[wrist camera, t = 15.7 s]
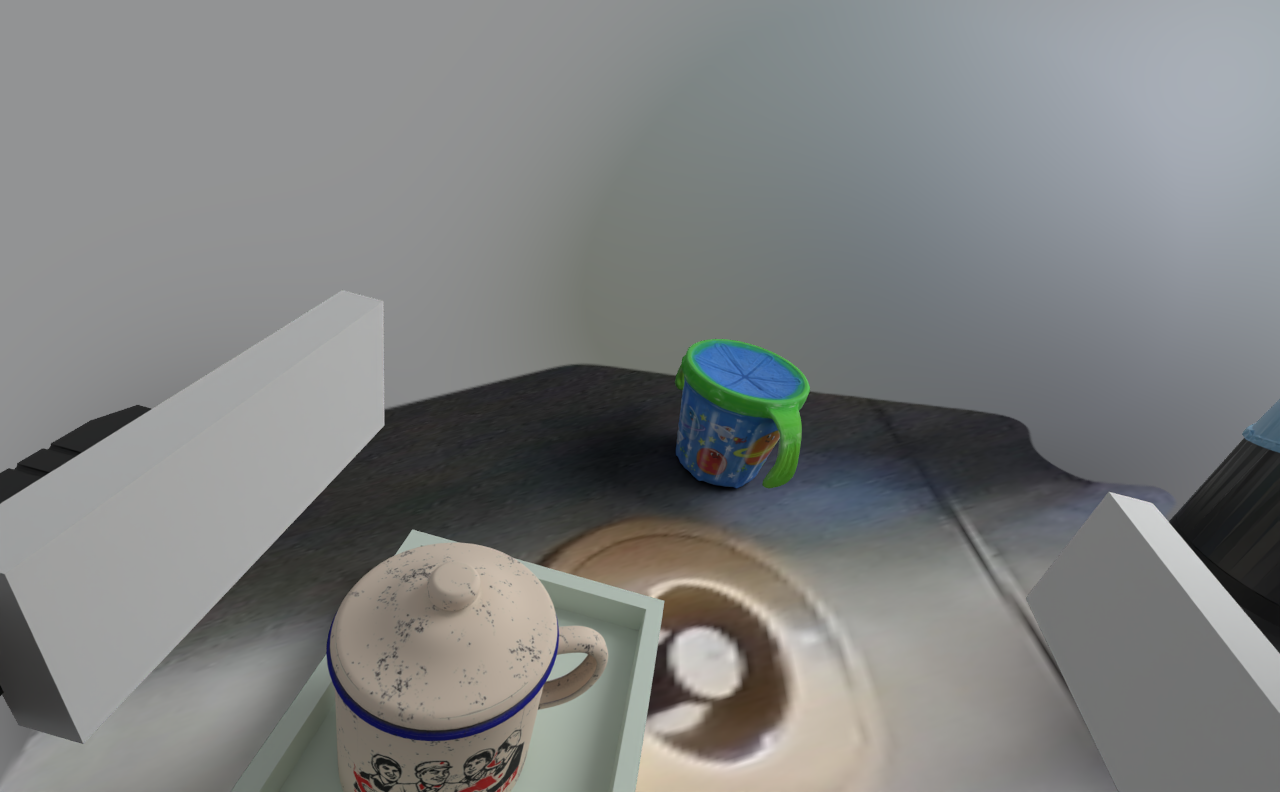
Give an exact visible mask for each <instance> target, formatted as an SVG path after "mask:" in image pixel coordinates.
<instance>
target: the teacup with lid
mask: <svg viewBox="0 0 1280 792" xmlns="http://www.w3.org/2000/svg"><path fill="white" fill-rule="evenodd" d="M566 653H586V654H588V655H587V657H586V658H585V659H584V660H583V662H582V663H581V664H580V665H579V666H577V667H576V668H575V669H574V670H572V671H571V672H569V673H568V674H566V675H564V676H562V677H559V678H556V679H553V680H550V681H546V680H547V679H548V677H549V675H550V673H551V671H552V668H553V666H554V663H555V660H556V656H557V655H559V654H566ZM326 654H327V665H328V670H329V674H330V677H331V680H332V683H333V685H334V687H335V704H336V730H337V756H338V772H339V778H340V783H341V786H342V789H343V792H511V790H512V789H513V787H514V786H515V784H516V782H517V780H518V778H519V776H520V774H521V772H522V769H523V767H524V764H525V760H526V757H527V753H528V748H529V744H530V740H531V736H532V732H533V727H534V723H535V719H536V715H537V711H538V710H540V709H545V708H550V707H554V706H557V705H561V704H564V703H566V702H569V701H571V700H573V699H575V698H577V697H578V696H580V695H581V694H583V693H584V692H586V691H587V690H588V689H589V688H590V687H592V686H593V685H594V684H595V683H596V681H597V680H598V679H599V678H600V676H601V675H602V673H603V672H604V670H605V668H606V665H607V662H608V650H607V646H606V643H605V640H604V638H603V637H602V635H601V634H600V633H598V632H597V631H595V630H593V629H591V628H588V627H584V626H563V627H559V626H558V620H557V616H556V612H555V609H554V605H553V603H552V600H551V598H550V596H549V594H548V592H547V590H546V589H545V587H544V586H543V584H542V583H541V582H540V580H539V579H538V578H537V577H536V576H535V575H534V574H533V573H532V572H531V571H530V570H529V569H528V568H527V567H526V566H524V565H523V564H522V563H520V562H519V561H517V560H516V559H514V558H512V557H511V556H509V555H507V554H504V553H502V552H500V551H497V550H494V549H492V548H488V547H485V546H480V545H475V544H468V543H438V544H431V545H425V546H421V547H417V548H414V549H410V550H407V551H405V552H402V553H400V554H397V555H395V556H393V557H391V558H389V559H387V560H385V561H384V562H382V563H380V564H379V565H377V566H376V567H375V568H373V569H372V570H371V571H369V572H368V573H367V574H366V575H365V576H363V577H362V578H361V579H360V580H359V581H358V582H357V583H356V584H355V585H354V587H353V588H352V589H351V590H350V591H349V593H348V594H347V595H346V597H345V598H344V600H343V602H342V603H341V605H340V607H339V609H338V611H337V612H336V614H335V617H334V619H333V621H332V624H331V627H330V630H329V634H328V640H327V652H326Z"/></svg>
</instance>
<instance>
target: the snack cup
mask: <svg viewBox="0 0 1280 792" xmlns="http://www.w3.org/2000/svg"><path fill="white" fill-rule="evenodd" d="M675 383H676V386H677V388H678V389H680V390H683V396H682V402H681V412H680V420H679V426H678V435H677V445H676V456H678V458H679V460H680V463H681V464H682V465H683V466H684V468H685V469H687V470H688V471H689V472H690V473H691V474H692V475H693V476H694V477H695V478H696V479H697V480H698V481H705V482H707V483H710V484H714V485H719V486H725V487H734V488H739V487H741V486H743V485H744V484H746V483H748V482H749V481H751V480H752V479H753V478H754V477H755V476H756V475H757V474H758V472H759V470H760V468H761V467H762V465H763V464H764V462H765V461H766V459H767V457H768V456H769V454H770V453H771V451H772V449H773V447H774V446H775V444H776V443H777V441H778V440H779V438H780V441H779V449H778V455H777V460H776V463H775V465H774V466H773V468H772V469H771V470H770V471H769V473H768V474H767V476H766V477H765V479H764V480H763V486H764V487H766V488H773V487H778V486H781V485H783V484H785V483H787V482H788V481H789V480H790V479H791V478H792V477H793V475H794V473H795V471H796V467H797V463H798V457H799V451H800V443H801V432H802V430H801V418H800V414H799V410H800V409H801V408H802V406H803V404H804V402H805V401H806V399H807V396H808V394H809V391H810V387H809V384H808V381H807V379H806V377H805V376H804V375H803V373H802V372H801V371H800V370H799V369H798V368H797V367H796V366H794V365H793V364H792V363H790V362H789V361H788V360H786V359H784V358H782V357H780V356H779V355H777V354H775V353H773V352H771V351H768V350H766V349H764V348H761V347H758V346H755V345H751V344H748V343H744V342H740V341H734V340H725V339H712V340H704V341H700V342H697V343H695V344H693V345H692V346H691V347H689V349H688V351H687V353H686V355H685V356H684V357H683V359H682V364H681V366H680V368H679V370H678V373H677V375H676V381H675Z"/></svg>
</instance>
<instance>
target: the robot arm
mask: <svg viewBox="0 0 1280 792" xmlns="http://www.w3.org/2000/svg"><path fill="white" fill-rule="evenodd" d="M383 320H384V319H383V301H382V300H378V299H374V298H370V297H367V296H363V295H359V294H355V293H351V292H348V291H344V290H342V291H340V292H339V293H337V294H336V295H334V296H332V297H331V298H329V299H328V300H326V301H324V302H323V303H321V304H320V305H318V306H316V307H315V308H313V309H312V310H310V311H308V312H307V313H305V314H304V315H302V316H300V317H299V318H297V319H296V320H294V321H292V322H291V323H289V324H288V325H286V326H284V327H283V328H281V329H280V330H278V331H276V332H275V333H273V334H271V335H270V336H268V337H267V338H265V339H263V340H262V341H260V342H259V343H257V344H256V345H254V346H252V347H251V348H249V349H247V350H246V351H244V352H243V353H241V354H239V355H238V356H236V357H235V358H233V359H231V360H230V361H228V362H227V363H225V364H224V365H222V366H220V367H219V368H217V369H216V370H214V371H212V372H211V373H209V374H207V375H206V376H204V377H203V378H201V379H199V380H198V381H196V382H195V383H193V384H191V385H190V386H188V387H187V388H185V389H184V390H182V391H180V392H179V393H177V394H175V395H174V396H172V397H171V398H169V399H167V400H166V401H164V402H163V403H161V404H159V405H158V406H156V407H155V408H153V409H151V408H147V407H143V406H140V405H136V406H133V407H130V408H127V409H124V410H121V411H118V412H115V413H112V414H109V415H106V416H103V417H100V418H97V419H94V420H91V421H89V422H87V423H85V424H84V425H82V426H80V427H79V428H77V429H75V430H74V431H72V432H70V433H68V434H67V435H65V436H63V437H62V438H60V439H58V440H56V441H55V442H53V443H51V446H50V448H49V449H41V450H39V451H38V452H36V453H34V454H32V455H31V456H29V457H28V458H26V459H24V460H22V461H20V462H19V463H17V467H16V468H15V469H7V470H5V471H3V472H2V473H0V696H1V695H3V697H4V699H5V701H6V703H7V705H8V706H9V708H10V710H11V712H12V714H13V715H14V717H15V719H16V721H17V723H18V725H20V726H23V727H26V728H30V729H33V730H37V731H40V732H44V733H47V734H51V735H54V736H58V737H61V738H65V739H68V740H72V741H75V742H78V743H82V744H84V743H85V742H86V741H87V740H88V739H89V738H90V736H91V735H92V734H93V733H94V732H95V731H96V730H97V729H98V728H99V727H100V726H101V725H102V724H103V723H104V722H105V721H106V720H107V718H108V717H109V716H110V715H111V714H112V713H113V712H114V711H115V710H116V709H117V708H118V707H119V706H120V705H121V704H122V703H123V701H124V700H125V699H126V698H127V697H128V696H129V695H130V694H131V693H132V692H133V691H134V690H135V689H136V688H137V687H138V686H139V685H140V683H141V682H142V681H143V680H144V679H145V678H146V677H147V676H148V675H149V674H150V673H151V672H152V671H153V670H154V669H155V668H156V667H157V665H158V664H159V663H160V662H161V661H162V660H163V659H164V658H165V657H166V656H167V655H168V654H169V653H170V652H171V651H172V650H173V649H174V647H175V646H176V645H177V644H178V643H179V642H180V641H181V640H182V639H183V638H184V637H185V636H186V635H187V634H188V633H189V632H190V631H191V629H192V628H193V627H194V626H195V625H196V624H197V623H198V622H199V621H200V620H201V619H202V618H203V617H204V616H205V615H206V614H207V613H208V611H209V610H210V609H211V608H212V607H213V606H214V605H215V604H216V603H217V602H218V601H219V600H220V599H221V598H222V597H223V596H224V595H225V593H226V592H227V591H228V590H229V589H230V588H231V587H232V586H233V585H234V584H235V583H236V582H237V581H238V580H239V579H240V578H241V577H242V575H243V574H244V573H245V572H246V571H247V570H248V569H249V568H250V567H251V566H252V565H253V564H254V563H255V562H256V561H257V560H258V559H259V557H260V556H261V555H262V554H263V553H264V552H265V551H266V550H267V549H268V548H269V547H270V546H271V545H272V544H273V543H274V542H275V541H276V539H277V538H278V537H279V536H280V535H281V534H282V533H283V532H284V531H285V530H286V529H287V528H288V527H289V526H290V525H291V524H292V523H293V521H294V520H295V519H296V518H297V517H298V516H299V515H300V514H301V513H302V512H303V511H304V510H305V509H306V508H307V507H308V506H309V505H310V503H311V502H312V501H313V500H314V499H315V498H316V497H317V496H318V495H319V494H320V493H321V492H322V491H323V490H324V489H325V488H326V487H327V485H328V484H329V483H330V482H331V481H332V480H333V479H334V478H335V477H336V476H337V475H338V474H339V473H340V472H341V471H342V470H343V469H344V467H345V466H346V465H347V464H348V463H349V462H350V461H351V460H352V459H353V458H354V457H355V456H356V455H357V454H358V453H359V452H360V451H361V449H362V448H363V447H364V446H365V445H366V444H367V443H368V442H369V441H370V440H371V439H372V438H373V437H374V436H375V435H376V434H377V433H378V431H379V430H380V429H381V428H382V427H383V426H384V324H383V322H384V321H383ZM1242 435H1243V436H1244V439H1243V440H1242V441H1241V442H1240V443H1239V444H1238V445H1237V446H1236V448H1235V449H1234V450H1233V451H1232V452H1231V453H1230V454H1229V455H1228V456H1227V458H1226V459H1225V460H1224V461H1223V462H1222V463H1221V464H1220V465H1219V467H1218V468H1217V469H1216V470H1215V471H1214V472H1213V473H1212V474H1211V475H1210V476H1209V477H1208V479H1207V480H1206V481H1205V482H1204V483H1203V484H1202V485H1201V486H1200V487H1199V489H1198V490H1197V491H1196V492H1195V493H1194V494H1193V495H1192V496H1191V498H1190V499H1189V500H1188V501H1187V502H1186V503H1185V504H1184V505H1183V506H1182V507H1181V509H1180V510H1179V511H1178V512H1177V513H1176V514H1175V515H1174V517H1173V518H1172V519H1171V520H1170V521H1169V522H1168V521H1167V520H1166V518H1165V517H1164V516H1163V515H1162V514H1161V513H1160V511H1159V510H1158V509H1157V508H1156V507H1155V505H1154V504H1153V503H1149V502H1146V501H1142V500H1138V499H1134V498H1130V497H1127V496H1123V495H1119V494H1115V493H1111V492H1108V494H1107V495H1106V496H1105V497H1104V499H1103V500H1102V501H1101V503H1100V504H1099V505H1098V506H1097V508H1096V509H1095V510H1094V511H1093V513H1092V514H1091V515H1090V517H1089V518H1088V519H1087V520H1086V522H1085V523H1084V524H1083V525H1082V527H1081V528H1080V529H1079V531H1078V532H1077V533H1076V534H1075V536H1074V537H1073V538H1072V540H1071V541H1070V542H1069V543H1068V545H1067V546H1066V547H1065V548H1064V550H1063V551H1062V552H1061V554H1060V555H1059V556H1058V557H1057V559H1056V560H1055V561H1054V563H1053V564H1052V565H1051V566H1050V568H1049V569H1048V570H1047V571H1046V573H1045V574H1044V575H1043V577H1042V578H1041V579H1040V580H1039V582H1038V583H1037V584H1036V586H1035V587H1034V588H1033V589H1032V591H1031V592H1030V593H1029V594H1028V596H1027V597H1026V600H1027V602H1028V604H1029V606H1030V608H1031V610H1032V612H1033V614H1034V617H1035V619H1036V621H1037V623H1038V625H1039V627H1040V629H1041V631H1042V633H1043V635H1044V637H1045V640H1046V642H1047V644H1048V646H1049V648H1050V650H1051V652H1052V654H1053V656H1054V658H1055V660H1056V662H1057V665H1058V667H1059V669H1060V671H1061V673H1062V675H1063V677H1064V679H1065V681H1066V683H1067V685H1068V688H1069V690H1070V692H1071V694H1072V696H1073V698H1074V700H1075V702H1076V704H1077V706H1078V708H1079V711H1080V713H1081V715H1082V717H1083V719H1084V721H1085V723H1086V725H1087V727H1088V729H1089V731H1090V733H1091V736H1092V738H1093V740H1094V742H1095V744H1096V746H1097V748H1098V750H1099V752H1100V754H1101V756H1102V759H1103V761H1104V763H1105V765H1106V767H1107V769H1108V771H1109V773H1110V775H1111V777H1112V779H1113V782H1114V784H1115V786H1116V788H1117V790H1118V792H1280V399H1279V400H1278V401H1277V402H1276V403H1275V404H1274V405H1273V406H1272V407H1271V408H1270V409H1269V410H1268V411H1267V412H1266V413H1265V414H1264V415H1263V416H1262V417H1261V418H1260V419H1259V420H1258V421H1257V422H1256V423H1255V424H1252V425H1250V426H1248V427H1247V428H1246V429H1245V430H1244V432H1243V434H1242Z"/></svg>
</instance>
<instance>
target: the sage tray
mask: <svg viewBox="0 0 1280 792" xmlns="http://www.w3.org/2000/svg"><path fill="white" fill-rule="evenodd" d="M438 543H458V542H455V541H451V540H448V539H444V538H440V537H437V536H433V535H430V534H426V533H423V532H419V531H416V530H412V531H411V533H410V534H409V536H408V537H407V539H406V540H405V541H404V543H403V544H402V546H401V547H400V549H399V550H398V551H397V553H396V554H395V555H397V554H400V553H402V552H405V551H407V550H410V549H414V548H417V547H421V546H425V545H431V544H438ZM514 559H515V558H514ZM516 560H517V561H519V562H520V563H522V564H523V565H524V566H526V567H527V568H528V569H529V570H530V571H531V572H532V573H533V574H534V575H535V576H536V577H537V578H538V579H539V580H540V582H541V583H542V584H543V586H544V587H545V589H546V590H547V592H548V594H549V596H550V598H551V600H552V603H553V605H554V609H555V612H556V616H557V620H558V626H559V627H563V626H584V627H588V628H591V629H593V630H595V631H597V632H598V633H600V634H601V635H602V637H603V638H604V640H605V643H606V646H607V650H608V662H607V665H606V668H605V670H604V672H603V673H602V675H601V676H600V678H599V679H598V680H597V681H596V683H595V684H594V685H593V686H592V687H590V688H589V689H588V690H587V691H586V692H584V693H583V694H581V695H580V696H578V697H577V698H575V699H573V700H571V701H569V702H566V703H564V704H561V705H557V706H554V707H550V708H545V709H540V710H538V711H537V715H536V719H535V723H534V727H533V732H532V736H531V740H530V744H529V748H528V753H527V757H526V760H525V764H524V767H523V769H522V772H521V774H520V776H519V778H518V780H517V782H516V784H515V786H514V787H513V789H512V790H511V792H635V790H636V783H637V777H638V770H639V764H640V757H641V751H642V744H643V738H644V731H645V724H646V718H647V711H648V705H649V698H650V692H651V685H652V679H653V672H654V666H655V659H656V653H657V646H658V640H659V633H660V627H661V620H662V614H663V607H664V601H663V600H659V599H656V598H652V597H649V596H645V595H642V594H638V593H634V592H631V591H627V590H624V589H620V588H617V587H613V586H610V585H606V584H603V583H599V582H596V581H592V580H589V579H585V578H582V577H578V576H575V575H571V574H567V573H564V572H560V571H557V570H553V569H550V568H546V567H543V566H539V565H536V564H532V563H529V562H525V561H522V560H518V559H516ZM587 655H588V654H586V653H566V654H559V655H557V656H556V660H555V663H554V666H553V668H552V671H551V673H550V675H549V677H548V679H547V680H546V681H550V680H553V679H556V678H559V677H562V676H564V675H566V674H568V673H569V672H571V671H572V670H574V669H575V668H576V667H577V666H579V665H580V664H581V663H582V662H583V660H584V659H585V658H586V657H587ZM231 792H343V789H342V786H341V783H340V778H339V772H338V756H337V730H336V704H335V687H334V685H333V683H332V680H331V677H330V674H329V670H328V665H327V654H326V655H325V657H324V658H323V659H322V661H321V662H320V664H319V665H318V667H317V668H316V669H315V671H314V672H313V674H312V675H311V677H310V678H309V680H308V681H307V682H306V684H305V685H304V687H303V688H302V690H301V691H300V692H299V694H298V695H297V697H296V698H295V700H294V701H293V703H292V704H291V705H290V707H289V708H288V710H287V711H286V713H285V714H284V715H283V717H282V718H281V720H280V721H279V723H278V724H277V726H276V727H275V728H274V730H273V731H272V733H271V734H270V736H269V737H268V739H267V740H266V741H265V743H264V744H263V746H262V747H261V749H260V750H259V751H258V753H257V754H256V756H255V757H254V759H253V760H252V762H251V763H250V764H249V766H248V767H247V769H246V770H245V772H244V773H243V774H242V776H241V777H240V779H239V780H238V782H237V783H236V785H235V786H234V787H233V789H232V790H231Z"/></svg>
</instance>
